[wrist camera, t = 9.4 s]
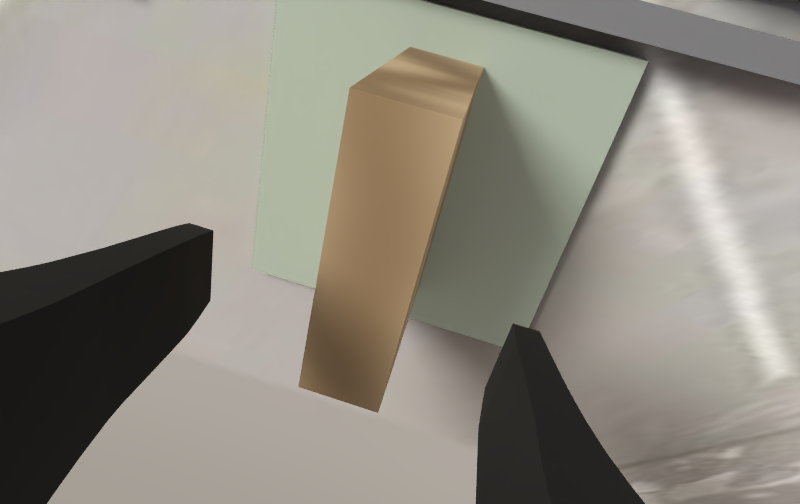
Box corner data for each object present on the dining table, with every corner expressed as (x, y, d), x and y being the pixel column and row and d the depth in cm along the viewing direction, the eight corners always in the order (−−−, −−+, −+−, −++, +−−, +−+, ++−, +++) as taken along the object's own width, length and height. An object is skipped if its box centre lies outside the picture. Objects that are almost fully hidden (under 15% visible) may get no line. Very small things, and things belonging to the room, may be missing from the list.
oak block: (483, 66, 17) (462, 119, 11) (418, 288, 21) (378, 412, 15) (410, 46, 17) (349, 87, 11) (360, 270, 22) (298, 386, 16)
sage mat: (644, 58, 16) (648, 61, 16) (518, 343, 22) (517, 352, 22) (287, -38, 17) (279, -38, 17) (257, 262, 23) (251, 269, 23)
